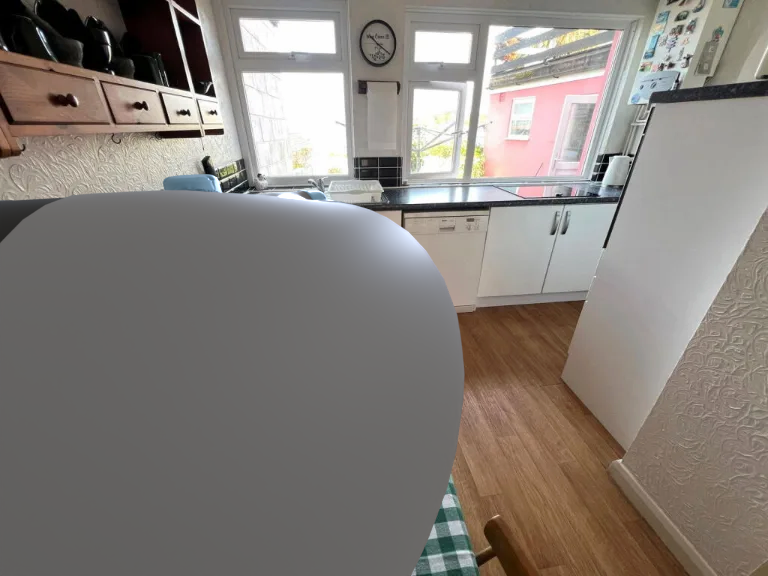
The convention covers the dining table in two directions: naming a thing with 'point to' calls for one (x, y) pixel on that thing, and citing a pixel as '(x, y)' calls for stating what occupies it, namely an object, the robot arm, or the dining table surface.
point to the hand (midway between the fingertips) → (243, 377)
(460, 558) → the dining table surface
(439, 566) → the dining table surface
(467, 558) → the dining table surface
